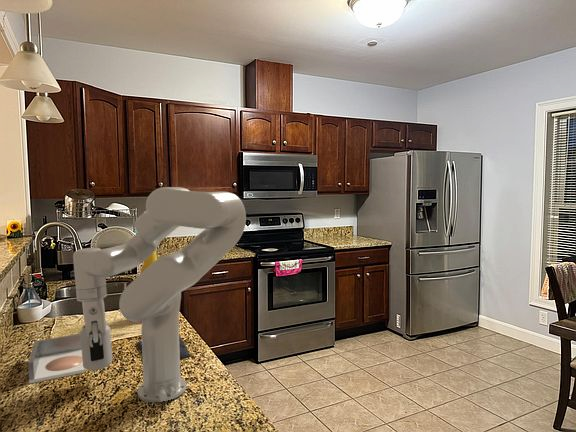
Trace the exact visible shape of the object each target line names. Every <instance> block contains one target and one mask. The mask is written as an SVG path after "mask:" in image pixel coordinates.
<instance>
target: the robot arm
mask: <svg viewBox="0 0 576 432" xmlns="http://www.w3.org/2000/svg"><path fill="white" fill-rule="evenodd" d="M246 222H247V213H246V208H245V205H244V203H243V201H242V200H241V198H240V197H239V196H237V195H236V194H235V193H233V192H229V191H194V190H189V189H188V188H186V187H182V186H181V187H179V186H171V187H170V186H166V187H165V186H164V187H159V188H156V189H154V190H153V191H152V192H151V193H150V194H149V195H148V197H147V198H146V202H145V211H144V212H142V214H141V215H139V216H138V217H137V218H136V219H135V222H134V227H135V231H136V234H134V236H132V237H131V238H130V239H128V240H127V241H126V242H125V243H123V244H120V245H119V244H118V245H115V246H110V247H107V248H102V249H101V248H99V247H86V248H80V249H77V250H75V251H74V252H73V254H72V261H73V272H74V282H75V293H76V294H75V295H76V301H77V302H81V304H82V313H83V322H84V325H85V328H86V333H87V336H88V337H90V344H91V346H90V356H91V361H96V360H101V359H104V351H103V344H102V340H101V333H102V334H103V333H104V334H106V333H107V331H106V322H107V319H106V311H105V309H106V308H105V301H104V299H105V298H106V297H108V292H107V280H106V278H111V277H113V276H117V275H119V274H122V273H125V272H128V271H131V270H133V269H135V268H137V267H138V266H140V265H141V264H142V263H144V260H145V259H147V258H148V257H149V256H150V255H151V254H152V253H153V252H154V251H155V250H157V249H158V247H159V245H160V243H161V242H162V241H163V240H165V239H166V237H169V235H171V234H172V232H174V231H175V230H176V229H178V228H179V227H183V228H184V227H185V228H192V229H200V230H201V229H203V230H202V231H201V232H200V233H198V234H197V235H196V236H194V238H193V239H191V241H189V243H188V244H186V245H185V246H184V247H183V248H181V249H180V250H178V251H175V252H173V253H172V252H171V253H170V254H167V255H164V256H161V257H159V258H157V260H156V261H154V262H153V263H152V264H151V265H149V266H148V267H147V268H146V269H145V270H144V271H143V272H142V273H141V272H140V273H141V274H138V276H136V277H135V278H134V279H133V281H131V282H130V283H129V284H128V285H127V286H126V287H125V288H124V289H123V291H122V293H121V294H120V297H119V300H118V301H119V302H118V303H119V305H118V306H119V311H120V313H121V315H122V316H123V318H124V319H126V320H127V321H130V322H134V323H141V341H142V351H141V354H142V356H141V357H142V375H143V376H142V377H143V379H142V381H143V382H142V384H141V385H139V387H138V388H137V392H136V393H137V398H139V399H140V400H141V401H143V402H146V403H150V402H158V403H164V402H163V401H165V402H169V401H171V399H172V400H174V399H176V398H179V397H180V396H181V395H182V394H184V393H185V392H186V390H187V380H185V378H183V377H181V359H180V350H179V335H180V309H181V301H182V292H184V291H185V290H187V289H189V288H191V287H193V286H194V285H196V283H198V282H199V281H200V280H201V278H202V277H203V276H205V275H206V274H207V273H208V272H209V271H210V270H211V269H212V268H214V266H216V264H217V263H219V262H220V261H221V260H222V258H224V257H225V256H226V255H227V254H228V253H229V252H230V251H232V249H234V247H235V246H236V245H237V243H238V242H239V241H240V239H241V237H242V235H243V234H244V230H245V228H246V224H247V223H246ZM98 331H99V333H98ZM91 332H93V335H91ZM89 333H90V334H89ZM98 336H99V338H98ZM92 337H93V339H92ZM99 342H100V343H99ZM168 400H169V401H168Z"/></svg>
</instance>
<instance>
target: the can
mask: <svg viewBox="0 0 576 432" xmlns="http://www.w3.org/2000/svg"><path fill="white" fill-rule="evenodd" d="M106 331H107V333H106V334H104V333H103V334H102V333H101V340H102V344H103V351H104V359H101V360H96V361H91V356H90V346H91V344H90V337H88V336H87V333H86V328H85V324H84V325H82V329H81V331H80V333H79V334H80V338H81V349H82V360H83V367H84V368H85V370H87V371H89V372H93V371H99V370H100V371H101V370H102V369H105V368H107V367H109V366H110V364H111V363H112V362H113V358H114V357H113V349H112V348H113V347H112V340H111V339H112V337H111V336H112V335H111V327H110V326H109V325H108V323H107V321H106ZM98 333H99V331H98ZM89 334H90V333H89ZM91 335H93V332H91ZM98 338H99V336H98ZM92 339H93V337H92ZM99 343H100V342H99Z"/></svg>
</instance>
